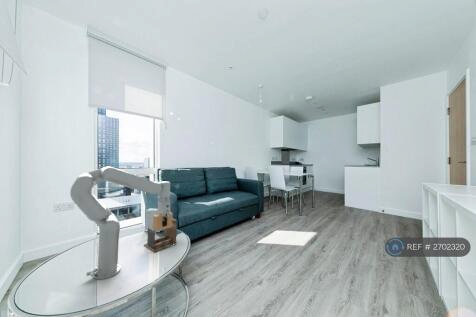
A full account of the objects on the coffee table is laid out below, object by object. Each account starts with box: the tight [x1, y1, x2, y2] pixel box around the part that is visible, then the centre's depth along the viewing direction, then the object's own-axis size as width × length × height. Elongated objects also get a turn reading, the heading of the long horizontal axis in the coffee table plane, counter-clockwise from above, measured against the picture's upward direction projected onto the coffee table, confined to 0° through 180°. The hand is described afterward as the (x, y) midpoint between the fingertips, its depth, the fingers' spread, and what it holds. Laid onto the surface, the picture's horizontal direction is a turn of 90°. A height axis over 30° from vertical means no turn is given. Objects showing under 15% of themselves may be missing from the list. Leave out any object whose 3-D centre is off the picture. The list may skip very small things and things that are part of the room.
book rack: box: [143, 218, 178, 253], centre depth 139 cm, size 18×16×19 cm
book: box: [153, 211, 174, 233], centre depth 124 cm, size 12×4×10 cm, turn 141°
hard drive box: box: [144, 207, 161, 231], centre depth 166 cm, size 16×8×20 cm, turn 84°
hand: (162, 225), depth 124 cm, fingers closed on book, 4 cm apart
